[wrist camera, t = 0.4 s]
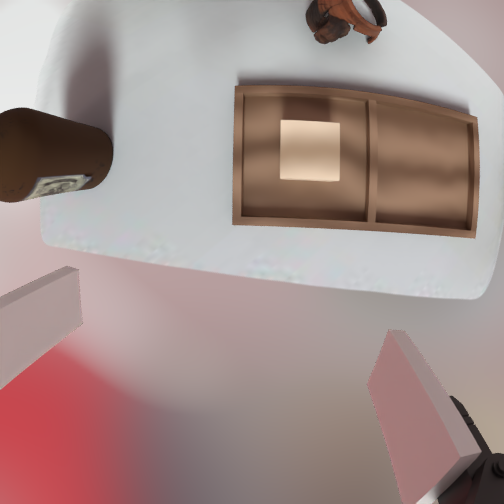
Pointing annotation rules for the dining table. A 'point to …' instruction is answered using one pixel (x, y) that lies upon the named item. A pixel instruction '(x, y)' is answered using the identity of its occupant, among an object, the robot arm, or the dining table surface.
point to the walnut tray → (358, 163)
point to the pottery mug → (342, 19)
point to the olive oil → (49, 155)
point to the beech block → (310, 150)
